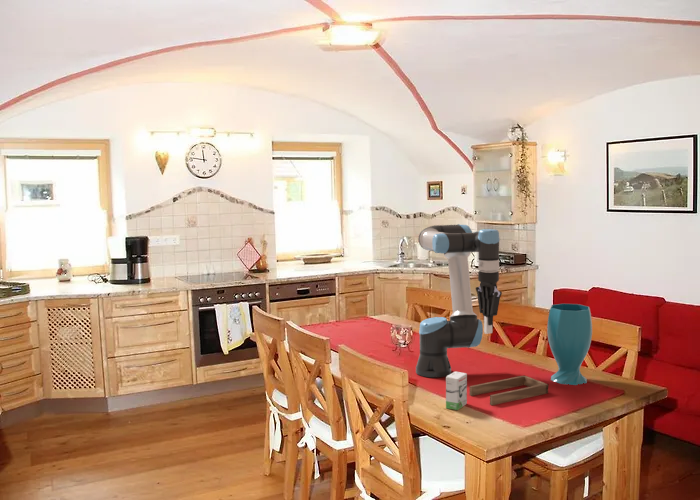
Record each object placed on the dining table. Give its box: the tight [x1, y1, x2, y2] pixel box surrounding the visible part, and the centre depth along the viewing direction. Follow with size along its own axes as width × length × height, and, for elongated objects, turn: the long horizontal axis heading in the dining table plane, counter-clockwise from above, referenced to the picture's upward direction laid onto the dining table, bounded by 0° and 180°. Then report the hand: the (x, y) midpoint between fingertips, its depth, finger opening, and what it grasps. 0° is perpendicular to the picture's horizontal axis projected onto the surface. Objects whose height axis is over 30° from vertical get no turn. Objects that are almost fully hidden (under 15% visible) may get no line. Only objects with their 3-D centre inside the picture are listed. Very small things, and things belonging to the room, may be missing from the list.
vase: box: [546, 303, 593, 386], centre depth 269 cm, size 17×17×30 cm
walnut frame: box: [469, 375, 549, 406], centre depth 254 cm, size 13×27×4 cm, turn 117°
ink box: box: [445, 371, 468, 411], centre depth 242 cm, size 9×5×12 cm, turn 146°
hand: (488, 332), depth 249 cm, fingers closed
